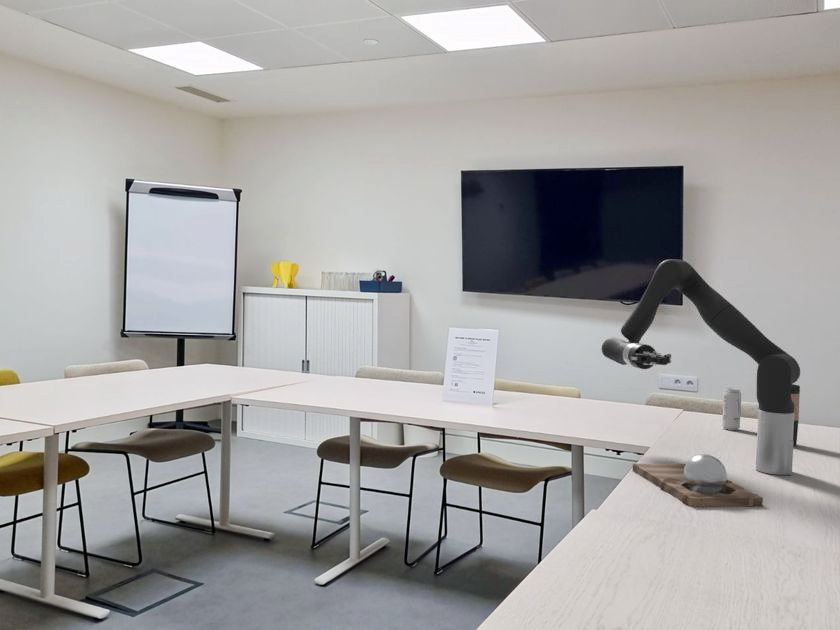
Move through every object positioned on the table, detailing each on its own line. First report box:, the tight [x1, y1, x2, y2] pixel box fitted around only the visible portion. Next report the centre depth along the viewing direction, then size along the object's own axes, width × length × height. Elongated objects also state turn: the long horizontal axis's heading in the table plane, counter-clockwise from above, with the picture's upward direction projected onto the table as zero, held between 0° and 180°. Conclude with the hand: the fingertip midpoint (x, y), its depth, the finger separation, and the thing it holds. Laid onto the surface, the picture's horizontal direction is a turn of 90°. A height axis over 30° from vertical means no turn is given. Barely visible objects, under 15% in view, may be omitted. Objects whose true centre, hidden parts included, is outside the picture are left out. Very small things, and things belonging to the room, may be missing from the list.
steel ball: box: [684, 453, 728, 494], centre depth 190 cm, size 10×10×10 cm
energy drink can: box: [721, 387, 742, 431], centre depth 281 cm, size 6×6×15 cm
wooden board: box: [632, 463, 764, 508], centre depth 197 cm, size 34×19×2 cm, turn 7°
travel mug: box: [791, 383, 801, 447], centre depth 256 cm, size 8×8×20 cm
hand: (664, 361), depth 219 cm, fingers closed
